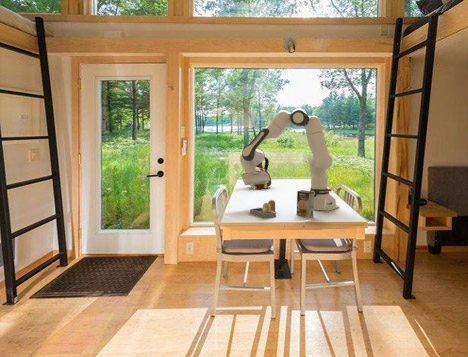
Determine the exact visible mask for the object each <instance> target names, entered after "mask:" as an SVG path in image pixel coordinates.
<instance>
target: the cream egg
mask: <svg viewBox="0 0 468 357" xmlns="http://www.w3.org/2000/svg"><path fill="white" fill-rule="evenodd" d="M262 208H263V213H265V214H266V213H270V204H268V202H265V203H263V204H262Z"/></svg>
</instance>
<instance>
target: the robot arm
mask: <svg viewBox="0 0 468 357" xmlns="http://www.w3.org/2000/svg"><path fill="white" fill-rule="evenodd" d="M291 124H293V125H294V126H297V127H304V129H305V134H306V140H307V144H308V146H309V149H310V151H311V153H310V154H309V155H308V158H307V160H308V164H309V169H310V179H311V180H310V188H309V191H311V192H314V210H315V211H332V210H336V209H339V208H340V205H338V204H337V200H336V198H335V197H334V196H332V194H330V192H332V191H333V190H332V188H330V187H329V188H328V183H329V182H328V174H327V170H326V169H329V168H330V167H331V166H332V164H333V162H334V161H333V158H332V156H331V155H330V152H329V149H328V146H327V143H326V141H325V136H324V130H323V129H324V128H323V126H322V123H321V120H320V118H319V117H318V116H316V115H308V114H307V112H306V110H304V109H302V108H296V109H293V111H290V112H288V111H287V110H285V109H284V110H282V109H281V110H279V112H277V113H276V115H274V117H273V118H272V120H271V121H270V122H269V124H268V125H267V126H266V127H264V128H263V129H261V130H260V131H259V132H258V133H257V135H255V137H254V138H253V139H252V140H251V141H250V142H249V143H248V144H247V145H246V146H245V147H244V148H243V149H242V151H241V155H240V156H239V161H240V164H241V166H242V168H243V169H244V172H243V173H241V175H240V176H241V178H242V182H243V184H244V185H245V186H250V187H251V188H252V189H253V190H257V188H256V186H254V185H255V184H265V186H264V187H265V188H264V189H267V188H268V187H267V183H268V182H269V181H270V178H269V176H268V175H267V173H266V172H265V170H264V169H262V168H258V167H256V165H259V164H260V163H261V162H262V163H263V161H265V159H264V158H265V157H266V156H265V155H266V154H265V152H264V151H262V150H261V149H258V148H259V147H260V146H261V145H262V143H263V142H264V141H266V140H269V139H277V138H280V136H281V135H282V134H283V133H284V132H285V130H286V129H287V128H288V126H289V125H291ZM314 210H313V211H314Z"/></svg>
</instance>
